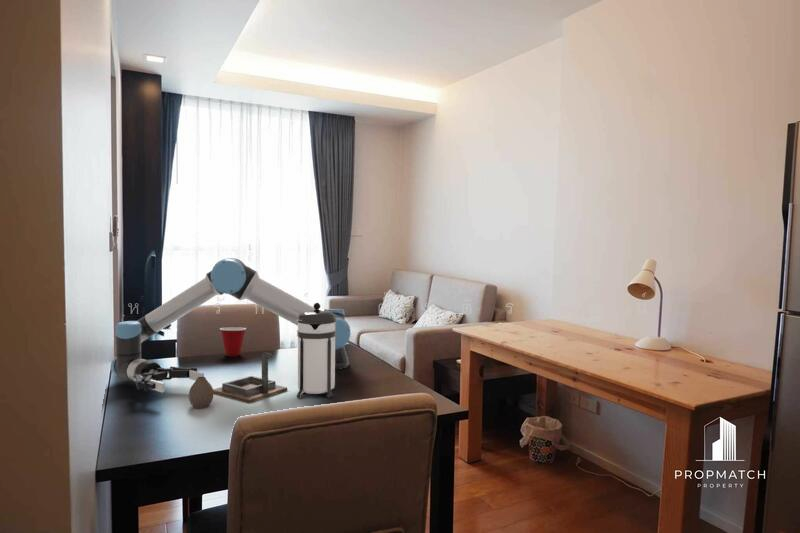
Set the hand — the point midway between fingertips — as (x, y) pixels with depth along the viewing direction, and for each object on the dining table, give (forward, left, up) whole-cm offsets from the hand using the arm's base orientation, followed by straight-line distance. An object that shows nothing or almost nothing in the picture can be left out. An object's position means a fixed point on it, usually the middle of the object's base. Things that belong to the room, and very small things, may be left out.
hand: (183, 382), depth 158 cm
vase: (-7, +4, -6) cm, 10 cm away
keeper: (-16, -12, -6) cm, 21 cm away
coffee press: (-38, -13, -6) cm, 41 cm away
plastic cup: (+9, -63, -6) cm, 64 cm away
